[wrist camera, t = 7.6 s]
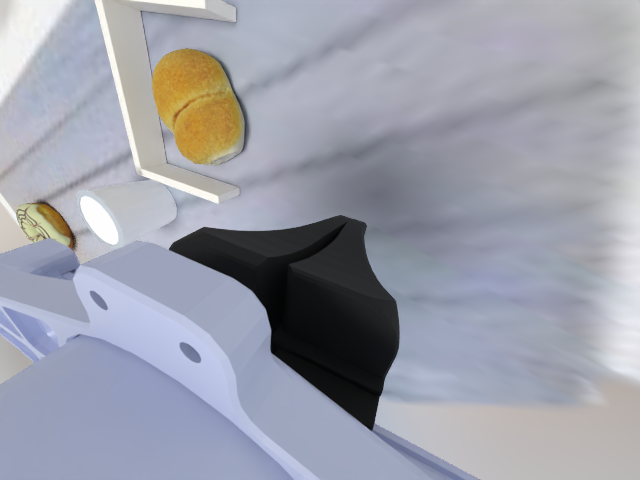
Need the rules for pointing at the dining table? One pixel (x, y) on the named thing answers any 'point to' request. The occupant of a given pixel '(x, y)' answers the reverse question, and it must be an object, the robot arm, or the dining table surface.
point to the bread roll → (198, 106)
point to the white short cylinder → (126, 211)
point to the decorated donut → (43, 224)
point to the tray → (136, 87)
